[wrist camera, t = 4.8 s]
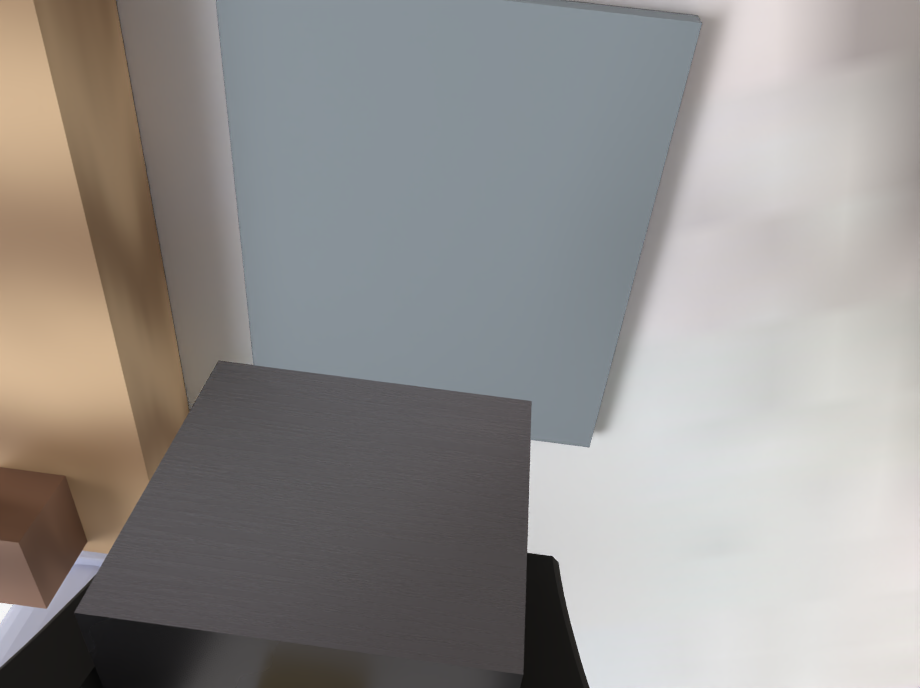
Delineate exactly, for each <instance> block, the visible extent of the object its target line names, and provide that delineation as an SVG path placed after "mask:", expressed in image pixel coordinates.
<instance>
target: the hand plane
mask: <svg viewBox="0 0 920 688" xmlns="http://www.w3.org/2000/svg"><path fill="white" fill-rule="evenodd" d="M188 413H189V407H188V402H187V396H186V391H185V385H184V379H183V374H182V368H181V363H180V357H179V351H178V346H177V340H176V335H175V329H174V324H173V318H172V312H171V307H170V301H169V296H168V290H167V284H166V279H165V273H164V268H163V262H162V256H161V251H160V245H159V240H158V234H157V229H156V223H155V217H154V212H153V206H152V201H151V195H150V189H149V184H148V178H147V173H146V167H145V161H144V156H143V150H142V145H141V139H140V133H139V128H138V122H137V117H136V111H135V106H134V100H133V94H132V89H131V83H130V78H129V72H128V66H127V61H126V55H125V50H124V44H123V38H122V33H121V27H120V22H119V16H118V10H117V5H116V0H0V603H7V604H15V605H22V606H29V607H36V608H44V609H47V608H48V606H49V604H50V603H51V601H52V599H53V598H54V596H55V594H56V593H57V591H58V589H59V588H60V586H61V585H62V583H63V581H64V580H65V578H66V576H67V575H68V573H69V571H70V570H71V568H72V566H73V565H74V563H75V562H76V560H77V558H78V557H79V555H80V553H81V552H82V551H90V552H97V553H104V554H108V553H109V551H110V549H111V548H112V546H113V544H114V542H115V541H116V539H117V537H118V535H119V534H120V532H121V530H122V528H123V527H124V525H125V523H126V521H127V520H128V518H129V516H130V514H131V513H132V511H133V509H134V507H135V506H136V504H137V502H138V501H139V499H140V497H141V495H142V494H143V492H144V490H145V488H146V487H147V485H148V483H149V481H150V480H151V478H152V476H153V474H154V473H155V471H156V469H157V467H158V466H159V464H160V462H161V460H162V459H163V457H164V455H165V453H166V452H167V450H168V448H169V446H170V445H171V443H172V441H173V440H174V438H175V436H176V434H177V433H178V431H179V429H180V427H181V426H182V424H183V422H184V420H185V419H186V417H187V415H188Z"/></svg>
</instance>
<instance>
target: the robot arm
mask: <svg viewBox="0 0 920 688" xmlns="http://www.w3.org/2000/svg"><path fill="white" fill-rule="evenodd" d="M107 555H108V554H104V553H97V552H90V551H82V552H81V553H80V555H79V557H78V558H77V560H76V562H75V563H74V565H73V566H72V568H71V570H70V571H69V573H68V575H67V576H66V578H65V580H64V581H63V583H62V585H61V586H60V588H59V589H58V591H57V593H56V594H55V596H54V598H53V599H52V601H51V603H50V604H49V606H48V608H47V609H44V608H36V607H29V606H22V605H15V604H13V605H12V607H11V608H10V610H9V611H8V613H7V614H6V616H5V617H4V619H3V620H2V622H1V624H0V688H103V686H102V683H101V681H100V678H99V676H98V673H97V670H96V668H95V665H94V663H93V660H92V658H91V655H90V652H89V650H88V647H87V645H86V642H85V639H84V637H83V634H82V632H81V629H80V627H79V624H78V621H77V619H76V616H75V614H74V612H75V610H76V609H77V607H78V605H79V603H80V602H81V600H82V598H83V596H84V595H85V593H86V591H87V589H88V588H89V586H90V584H91V582H92V581H93V579H94V577H95V575H96V574H97V572H98V570H99V568H100V567H101V565H102V563H103V562H104V560H105V558H106V556H107ZM520 688H589V685H588V682H587V679H586V676H585V673H584V669H583V666H582V663H581V659H580V656H579V652H578V649H577V645H576V641H575V638H574V634H573V630H572V627H571V623H570V619H569V615H568V610H567V606H566V602H565V597H564V592H563V587H562V582H561V576H560V570H559V563H558V561H557V560H556V559H555V558H554V557H553V556H547V555H539V554H532V553H527V570H526V602H525V635H524V668H523V678H522V682H521V685H520Z"/></svg>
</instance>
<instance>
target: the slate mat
mask: <svg viewBox="0 0 920 688" xmlns="http://www.w3.org/2000/svg"><path fill="white" fill-rule="evenodd" d="M216 7H217V16H218V26H219V35H220V45H221V55H222V64H223V74H224V84H225V93H226V103H227V113H228V122H229V132H230V142H231V151H232V161H233V170H234V180H235V190H236V199H237V209H238V219H239V228H240V238H241V248H242V257H243V267H244V277H245V286H246V296H247V305H248V315H249V325H250V334H251V344H252V354H253V363H254V365H256V366H264V367H271V368H279V369H287V370H295V371H302V372H310V373H318V374H326V375H334V376H341V377H349V378H357V379H365V380H372V381H380V382H388V383H396V384H404V385H411V386H419V387H427V388H435V389H442V390H450V391H458V392H466V393H474V394H481V395H489V396H497V397H505V398H512V399H520V400H528V401H532V407H531V439H530V440H536V441H544V442H552V443H560V444H567V445H575V446H583V447H590V443H591V439H592V435H593V432H594V428H595V424H596V420H597V417H598V413H599V409H600V405H601V401H602V398H603V394H604V390H605V386H606V383H607V379H608V375H609V371H610V368H611V364H612V360H613V356H614V352H615V349H616V345H617V341H618V337H619V334H620V330H621V326H622V322H623V319H624V315H625V311H626V307H627V304H628V300H629V296H630V292H631V288H632V285H633V281H634V277H635V273H636V270H637V266H638V262H639V258H640V255H641V251H642V247H643V243H644V240H645V236H646V232H647V228H648V224H649V221H650V217H651V213H652V209H653V206H654V202H655V198H656V194H657V191H658V187H659V183H660V179H661V175H662V172H663V168H664V164H665V160H666V157H667V153H668V149H669V145H670V142H671V138H672V134H673V130H674V127H675V123H676V119H677V115H678V111H679V108H680V104H681V100H682V96H683V93H684V89H685V85H686V81H687V78H688V74H689V70H690V66H691V63H692V59H693V55H694V51H695V47H696V44H697V40H698V36H699V32H700V29H701V25H702V22H701V21H700V19H699V17H698V16H696V15H688V14H679V13H670V12H661V11H653V10H644V9H635V8H627V7H618V6H609V5H600V4H592V3H583V2H574V1H565V0H216Z"/></svg>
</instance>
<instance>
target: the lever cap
mask: <svg viewBox="0 0 920 688" xmlns="http://www.w3.org/2000/svg"><path fill="white" fill-rule="evenodd" d="M531 407H532V401H528V400H520V399H512V398H505V397H497V396H489V395H481V394H474V393H466V392H458V391H450V390H442V389H435V388H427V387H419V386H411V385H404V384H396V383H388V382H380V381H372V380H365V379H357V378H349V377H341V376H334V375H326V374H318V373H310V372H302V371H295V370H287V369H279V368H271V367H264V366H256V365H248V364H240V363H232V362H225V361H218V363H217V365H216V366H215V368H214V370H213V372H212V373H211V375H210V377H209V379H208V380H207V382H206V384H205V385H204V387H203V389H202V391H201V392H200V394H199V396H198V398H197V399H196V401H195V403H194V405H193V406H192V408H191V410H190V412H189V413H188V415H187V417H186V419H185V420H184V422H183V424H182V426H181V427H180V429H179V431H178V433H177V434H176V436H175V438H174V440H173V441H172V443H171V445H170V446H169V448H168V450H167V452H166V453H165V455H164V457H163V459H162V460H161V462H160V464H159V466H158V467H157V469H156V471H155V473H154V474H153V476H152V478H151V480H150V481H149V483H148V485H147V487H146V488H145V490H144V492H143V494H142V495H141V497H140V499H139V501H138V502H137V504H136V506H135V507H134V509H133V511H132V513H131V514H130V516H129V518H128V520H127V521H126V523H125V525H124V527H123V528H122V530H121V532H120V534H119V535H118V537H117V539H116V541H115V542H114V544H113V546H112V548H111V549H110V551H109V553H108V555H107V556H106V558H105V560H104V562H103V563H102V565H101V567H100V568H99V570H98V572H97V574H96V575H95V577H94V579H93V581H92V582H91V584H90V586H89V588H88V589H87V591H86V593H85V595H84V596H83V598H82V600H81V602H80V603H79V605H78V607H77V609H76V610H75V612H74V614H75V616H76V619H77V621H78V624H79V627H80V629H81V632H82V634H83V637H84V639H85V642H86V645H87V647H88V650H89V652H90V655H91V658H92V660H93V663H94V665H95V668H96V670H97V673H98V676H99V678H100V681H101V683H102V686H103V688H520V685H521V682H522V678H523V668H524V635H525V602H526V570H527V537H528V505H529V472H530V439H531Z"/></svg>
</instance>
